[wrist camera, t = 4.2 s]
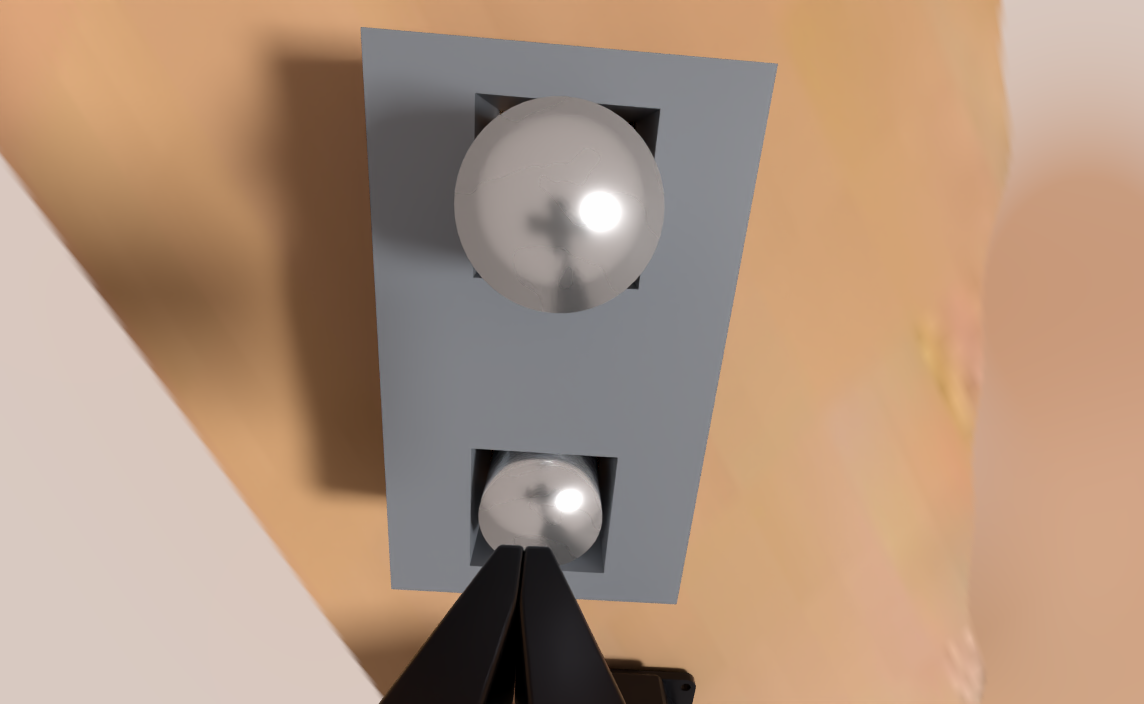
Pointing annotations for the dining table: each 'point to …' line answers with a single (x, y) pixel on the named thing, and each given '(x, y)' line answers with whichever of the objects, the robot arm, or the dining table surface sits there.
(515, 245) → the peg
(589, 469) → the peg
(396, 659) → the dining table surface
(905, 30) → the dining table surface
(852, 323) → the dining table surface
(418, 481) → the socket block
